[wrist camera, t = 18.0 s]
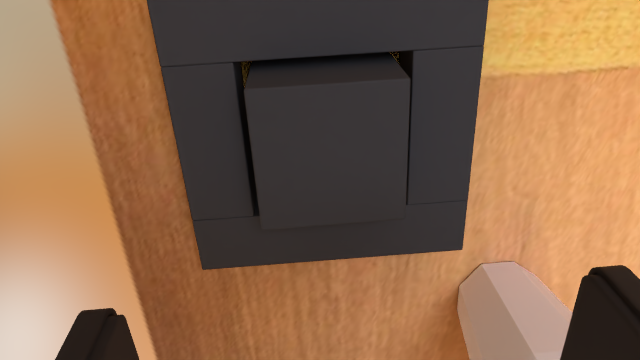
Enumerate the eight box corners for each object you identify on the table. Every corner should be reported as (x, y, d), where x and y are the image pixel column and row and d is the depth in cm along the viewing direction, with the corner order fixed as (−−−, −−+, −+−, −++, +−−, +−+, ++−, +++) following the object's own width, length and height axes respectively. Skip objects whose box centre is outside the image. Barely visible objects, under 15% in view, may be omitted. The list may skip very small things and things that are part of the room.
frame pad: (160, -18, 20) (143, -11, 17) (470, -37, 20) (492, -32, 18) (209, 240, 25) (202, 270, 23) (447, 222, 26) (462, 250, 24)
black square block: (251, 58, 21) (243, 89, 17) (388, 49, 21) (411, 78, 17) (265, 180, 24) (261, 231, 20) (386, 171, 24) (405, 220, 20)
